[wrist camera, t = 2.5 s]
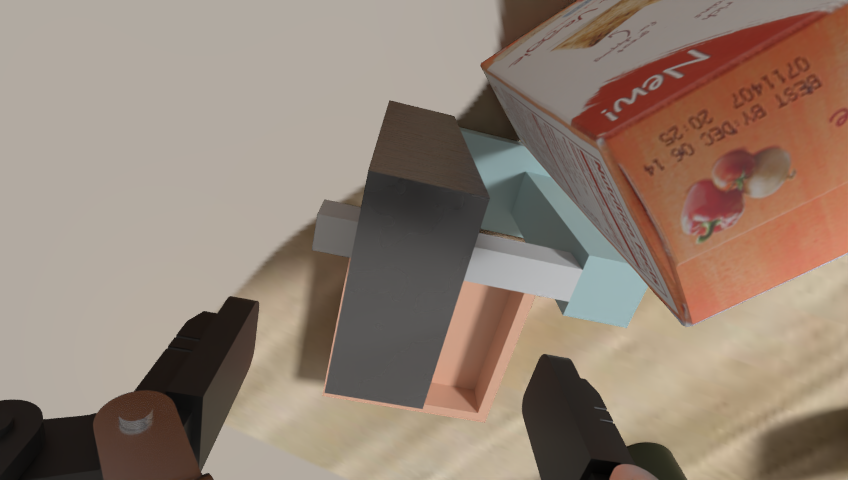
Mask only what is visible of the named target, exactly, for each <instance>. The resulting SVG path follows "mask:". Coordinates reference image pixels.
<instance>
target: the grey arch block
mask: <svg viewBox="0 0 848 480" xmlns="http://www.w3.org/2000/svg"><path fill="white" fill-rule="evenodd" d="M489 200H490V196H489V194H488V192H487V189H486V187H485V185H484V183H483V180H482V178H481V176H480V174H479V171H478V169H477V167H476V165H475V162H474V160H473V158H472V155H471V153H470V151H469V149H468V146H467V144H466V142H465V140H464V137H463V135H462V133H461V130H460V128H459V126H458V124H457V121H456V119H455V117H454V116H451V115H447V114H443V113H439V112H435V111H431V110H427V109H422V108H419V107H414V106H410V105H406V104H402V103H398V102H394V101H389V104H388V107H387V110H386V114H385V117H384V120H383V124H382V127H381V130H380V134H379V137H378V140H377V143H376V147H375V150H374V153H373V157H372V160H371V164H370V167H369V170H368V176H367V180H366V185H365V190H364V195H363V200H362V205H361V210H360V215H359V220H358V226H357V231H356V236H355V241H354V246H353V251H352V256H351V261H350V266H349V271H348V276H347V281H346V286H345V291H344V296H343V301H342V306H341V311H340V316H339V321H338V327H337V332H336V337H335V342H334V347H333V352H332V357H331V362H330V367H329V372H328V377H327V382H326V387H325V392H324V393H328V394H334V395H340V396H346V397H352V398H358V399H364V400H370V401H376V402H382V403H388V404H394V405H400V406H406V407H412V408H419V409H423V406H424V403H425V400H426V397H427V394H428V391H429V388H430V385H431V381H432V378H433V375H434V372H435V369H436V366H437V363H438V360H439V356H440V353H441V350H442V347H443V344H444V341H445V338H446V334H447V331H448V328H449V325H450V322H451V319H452V316H453V313H454V309H455V306H456V303H457V300H458V297H459V294H460V291H461V287H462V284H463V281H464V278H465V275H466V272H467V269H468V266H469V262H470V259H471V256H472V253H473V250H474V247H475V244H476V240H477V237H478V234H479V231H480V228H481V225H482V222H483V219H484V215H485V212H486V209H487V206H488V203H489Z"/></svg>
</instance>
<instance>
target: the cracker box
mask: <svg viewBox="0 0 848 480" xmlns="http://www.w3.org/2000/svg"><path fill="white" fill-rule="evenodd" d="M481 68H482V70H483V71H484V73H485V75H486V77H487V79H488V81H489V83H490V85H491V87H492V89H493V90H494V92H495V94H496V96H497V98H498V100H499V102H500V104H501V106H502V108H503V109H504V111H505V113H506V115H507V117H508V119H509V120H510V122H511V124H512V126H513V128H514V130H515V131H516V133H517V135H518V137H519V139H520V140H521V142H522V143H523V144H524V145H525V147H526V148H527V149H528V150H529V151H530V153H531V154H532V155H533V156H534V157H535V159H536V160H537V161H538V162H539V163H540V164H541V166H542V167H543V168H544V169H545V170H546V171H547V172H548V173H549V175H550V176H551V177H552V178H553V179H554V181H555V182H556V183H557V184H558V185H559V186H560V187H561V188H562V190H563V191H564V192H565V193H566V194H567V195H568V196H569V198H570V199H571V200H572V201H573V202H574V203H575V204H576V205H577V207H578V208H579V209H580V210H581V211H582V212H583V214H584V215H585V216H586V217H587V218H588V219H589V220H590V221H591V223H592V224H593V225H594V226H595V227H596V228H597V229H598V230H599V232H600V233H601V234H602V235H603V236H604V237H605V238H606V239H607V241H608V242H609V243H610V244H611V245H612V246H613V247H614V248H615V249H616V251H617V252H618V253H619V254H620V255H621V256H622V257H623V258H624V259H625V260H626V262H627V263H628V264H629V265H630V266H631V267H632V268H633V269H634V270H635V271H636V272H637V273H638V275H639V276H640V277H641V278H642V279H643V281H644V282H645V283H646V284H647V285H648V286H649V287H650V289H651V290H652V291H653V292H654V293H655V294H656V295H657V296H658V297H659V299H660V300H661V301H662V302H663V303H664V304H665V305H666V306H667V307H668V309H669V310H670V311H671V312H672V313H673V315H674V316H675V317H676V318H677V319H678V321H679V322H680V323H681V324H682V325H683V326H686V327H690V326H693V325H696V324H698V323H700V322H702V321H704V320H706V319H708V318H711V317H713V316H715V315H717V314H719V313H721V312H723V311H726V310H728V309H730V308H732V307H734V306H736V305H738V304H741V303H743V302H745V301H747V300H749V299H751V298H754V297H756V296H758V295H760V294H762V293H764V292H767V291H769V290H771V289H773V288H775V287H777V286H780V285H782V284H784V283H786V282H788V281H790V280H793V279H795V278H797V277H799V276H801V275H803V274H806V273H808V272H810V271H812V270H814V269H816V268H819V267H821V266H823V265H825V264H827V263H829V262H832V261H834V260H836V259H838V258H840V257H842V256H845V255H847V254H848V0H577V1H575V2H574V3H572V4H571V5H569V6H568V7H566V8H565V9H563V10H562V11H560V12H559V13H557V14H555V15H554V16H552V17H551V18H549V19H548V20H546V21H545V22H543V23H542V24H540V25H539V26H537V27H536V28H534V29H533V30H531V31H529V32H528V33H526V34H525V35H523V36H522V37H520V38H519V39H517V40H516V41H514V42H513V43H511V44H510V45H508V46H506V47H505V48H503V49H502V50H500V51H499V52H497V53H496V54H494V55H493V56H491V57H490V58H488V59H487V60H485V61H484V62H483V63H481Z"/></svg>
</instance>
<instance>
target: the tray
mask: <svg viewBox="0 0 848 480" xmlns="http://www.w3.org/2000/svg"><path fill="white" fill-rule="evenodd" d="M350 261H351V258H349V262H348V267H347V273H346V278H345V283H344V288H343V293H342V298H341V303H340V308H339V313H338V318H337V323H336V329H335V334H334V339H333V344H332V349H331V354H330V359H329V364H328V369H327V374H326V380H325V385H324V390H323V395H322V396H327V397H334V398H340V399H346V400H352V401H358V402H364V403H370V404H376V405H382V406H388V407H394V408H400V409H406V410H412V411H418V412H424V413H430V414H437V415H443V416H449V417H455V418H461V419H467V420H473V421H479V422H485V421H486V419H487V416H488V414H489V411H490V409H491V406H492V404H493V401H494V399H495V396H496V394H497V391H498V389H499V386H500V384H501V381H502V379H503V376H504V374H505V371H506V369H507V366H508V364H509V361H510V359H511V356H512V354H513V351H514V349H515V346H516V344H517V341H518V339H519V336H520V334H521V331H522V329H523V326H524V324H525V321H526V319H527V316H528V314H529V311H530V309H531V306H532V304H533V301H534V299H535V296H536V295H532V294H527V293H522V292H517V291H512V290H507V289H503V288H498V287H493V286H488V285H483V284H478V283H473V282H468V281H463V284H462V287H461V291H460V294H459V297H458V300H457V303H456V306H455V309H454V313H453V316H452V319H451V322H450V325H449V328H448V331H447V334H446V338H445V341H444V344H443V347H442V350H441V353H440V356H439V360H438V363H437V366H436V369H435V372H434V375H433V378H432V381H431V385H430V388H429V391H428V394H427V397H426V400H425V403H424V406H423V409H419V408H412V407H406V406H400V405H394V404H388V403H382V402H376V401H370V400H364V399H358V398H352V397H346V396H340V395H334V394H328V393H324V392H325V387H326V382H327V377H328V372H329V367H330V362H331V357H332V352H333V347H334V342H335V337H336V332H337V327H338V321H339V316H340V311H341V306H342V301H343V296H344V291H345V286H346V281H347V276H348V271H349V266H350Z"/></svg>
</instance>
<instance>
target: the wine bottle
mask: <svg viewBox="0 0 848 480" xmlns="http://www.w3.org/2000/svg"><path fill="white" fill-rule="evenodd" d="M627 449H628V451H629V453H630V455H631V457H632V459H633V461H634V462H635V464H636V466H638V467H640V468H642V469H644V470H646V471H648V472H649V473H651V474H652V475H654V476H655V477H656V478H657V479H658V480H687V478H686V477H685V475H684V473H683V472H682V470H681V468H680V467H679V465H678V463H677V462H676V460H675V458H674V457H673V455H672V453H671V452H670V451H669V450H668V449H667V448H666V447H664V446H662V445H660V444H656V443H640V444H636V445H633V446H630V447H628V448H627Z"/></svg>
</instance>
